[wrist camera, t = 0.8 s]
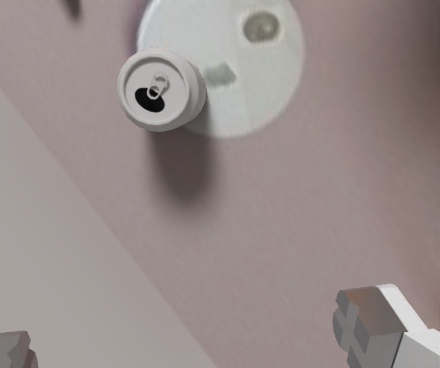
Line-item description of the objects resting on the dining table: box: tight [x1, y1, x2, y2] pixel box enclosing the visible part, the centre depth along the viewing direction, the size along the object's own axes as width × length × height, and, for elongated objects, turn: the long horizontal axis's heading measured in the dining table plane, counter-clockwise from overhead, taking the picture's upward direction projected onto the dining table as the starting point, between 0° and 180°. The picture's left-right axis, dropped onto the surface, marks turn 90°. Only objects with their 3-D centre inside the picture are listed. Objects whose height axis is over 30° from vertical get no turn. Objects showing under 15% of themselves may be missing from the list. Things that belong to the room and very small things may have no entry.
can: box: [117, 47, 206, 132], centre depth 41 cm, size 8×8×12 cm
